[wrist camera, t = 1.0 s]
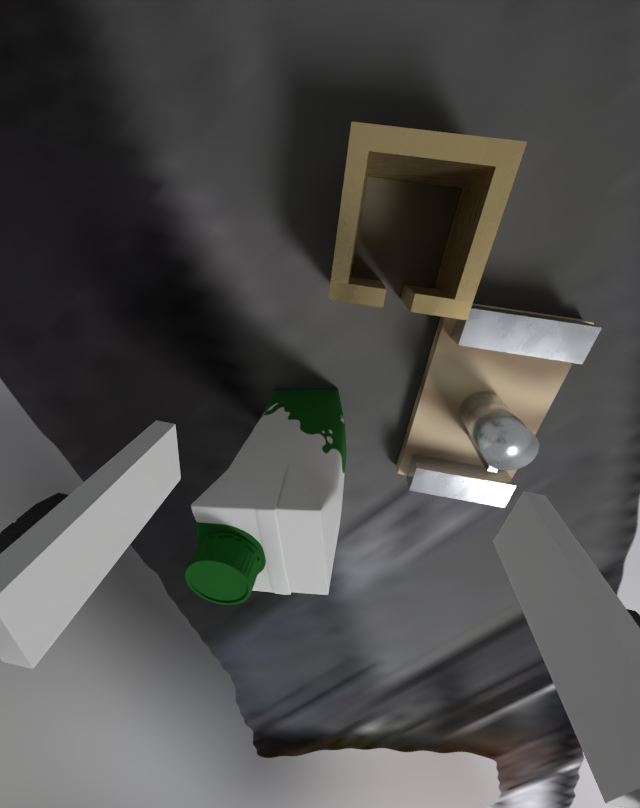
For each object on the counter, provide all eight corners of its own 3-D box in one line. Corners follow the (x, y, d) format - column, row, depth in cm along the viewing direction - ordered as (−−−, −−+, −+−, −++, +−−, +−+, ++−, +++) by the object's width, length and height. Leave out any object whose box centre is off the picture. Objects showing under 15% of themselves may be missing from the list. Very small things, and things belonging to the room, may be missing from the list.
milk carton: (265, 381, 34) (156, 526, 16) (347, 380, 33) (328, 535, 15) (275, 448, 38) (197, 624, 20) (350, 449, 36) (337, 638, 19)
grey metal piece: (461, 303, 27) (491, 319, 20) (581, 321, 26) (650, 343, 20) (406, 475, 35) (415, 523, 29) (495, 491, 35) (524, 543, 28)
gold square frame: (354, 154, 24) (351, 121, 18) (484, 170, 24) (527, 142, 17) (335, 289, 29) (328, 299, 23) (444, 305, 28) (466, 320, 22)
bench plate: (445, 299, 28) (449, 301, 27) (582, 319, 27) (593, 322, 26) (396, 465, 37) (397, 473, 35) (499, 483, 36) (504, 492, 35)
